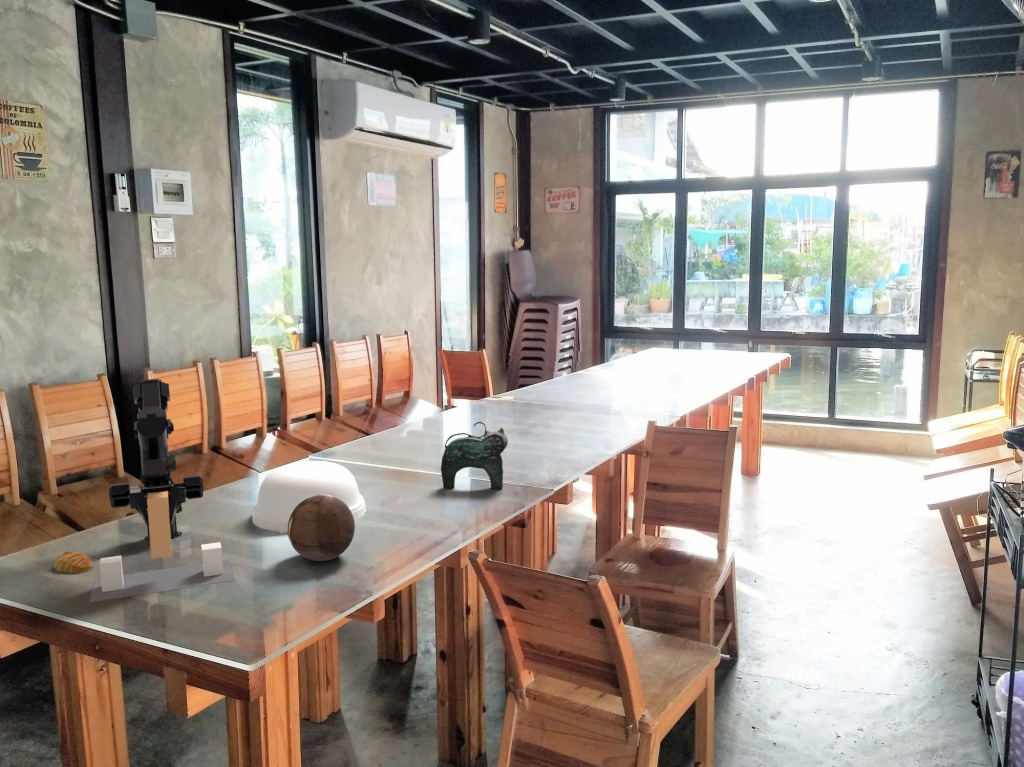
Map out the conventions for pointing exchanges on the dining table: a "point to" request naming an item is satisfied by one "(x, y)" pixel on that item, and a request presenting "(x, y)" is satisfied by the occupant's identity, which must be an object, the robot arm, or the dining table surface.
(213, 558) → the white paddle
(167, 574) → the charcoal mat
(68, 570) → the pastry
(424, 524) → the dining table surface
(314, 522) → the wooden sphere
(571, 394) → the dining table surface
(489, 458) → the ceramic cat
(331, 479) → the dome cover
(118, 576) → the white paddle
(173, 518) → the robot arm
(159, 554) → the tan wooden plank
